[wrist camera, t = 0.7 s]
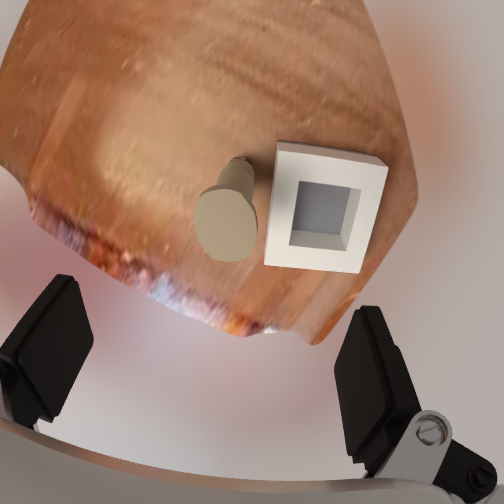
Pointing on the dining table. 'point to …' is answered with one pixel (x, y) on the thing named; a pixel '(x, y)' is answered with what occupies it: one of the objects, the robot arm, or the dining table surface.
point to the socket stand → (322, 207)
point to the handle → (228, 214)
